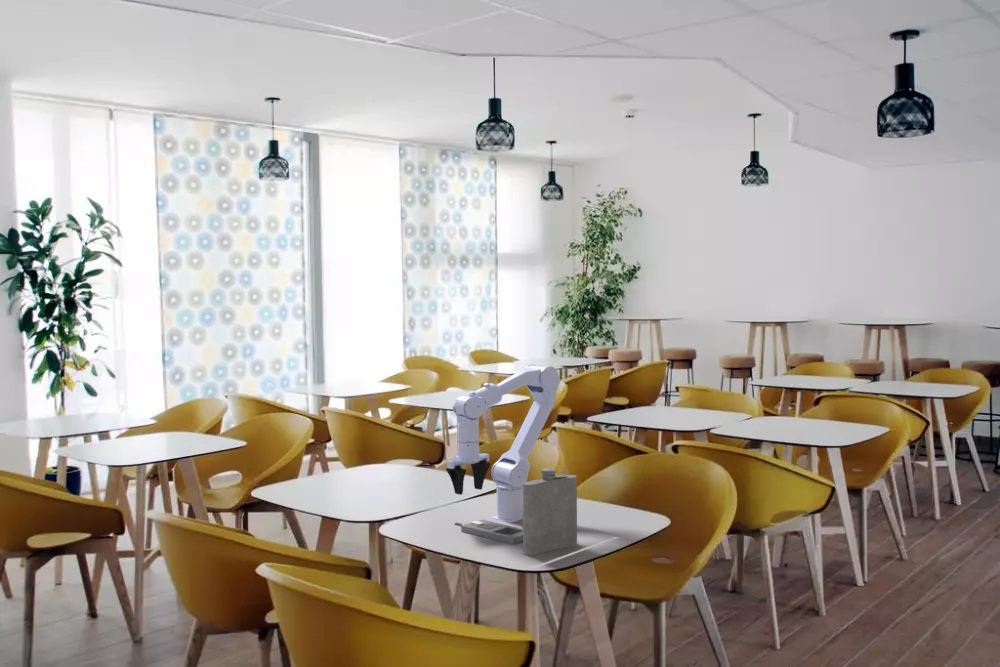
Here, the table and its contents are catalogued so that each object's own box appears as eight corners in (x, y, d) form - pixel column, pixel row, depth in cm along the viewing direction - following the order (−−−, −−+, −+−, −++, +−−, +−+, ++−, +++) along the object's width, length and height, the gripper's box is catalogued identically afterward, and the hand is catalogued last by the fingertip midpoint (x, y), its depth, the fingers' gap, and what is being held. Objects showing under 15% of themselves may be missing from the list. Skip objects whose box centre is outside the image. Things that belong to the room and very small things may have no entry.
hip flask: (528, 558, 211) (528, 474, 210) (518, 554, 214) (517, 472, 213) (579, 546, 220) (579, 466, 219) (569, 543, 224) (568, 463, 223)
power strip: (466, 523, 243) (466, 514, 243) (533, 539, 227) (533, 529, 227) (445, 529, 237) (445, 520, 237) (512, 546, 221) (512, 536, 221)
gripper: (475, 436, 247) (476, 484, 247) (438, 442, 236) (438, 493, 236) (494, 438, 242) (495, 488, 243) (457, 445, 231) (457, 497, 232)
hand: (468, 491), depth 239 cm, fingers open, 7 cm apart
